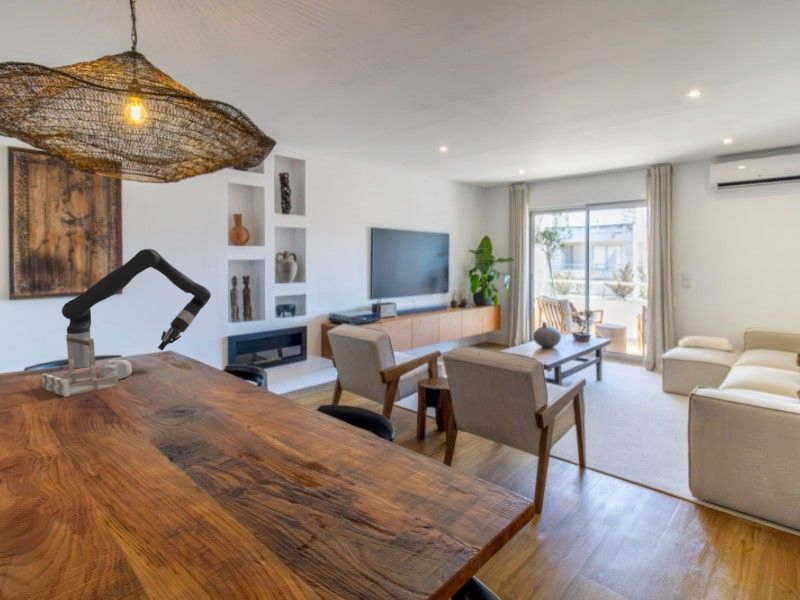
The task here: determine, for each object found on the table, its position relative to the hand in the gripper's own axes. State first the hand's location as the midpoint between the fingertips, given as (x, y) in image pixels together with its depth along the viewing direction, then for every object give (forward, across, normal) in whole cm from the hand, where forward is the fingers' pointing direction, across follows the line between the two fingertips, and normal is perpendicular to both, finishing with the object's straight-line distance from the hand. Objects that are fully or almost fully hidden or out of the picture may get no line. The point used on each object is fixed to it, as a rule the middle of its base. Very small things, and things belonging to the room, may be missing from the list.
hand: (160, 349), depth 212 cm
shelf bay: (+30, 0, -16) cm, 35 cm away
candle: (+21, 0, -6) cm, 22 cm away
